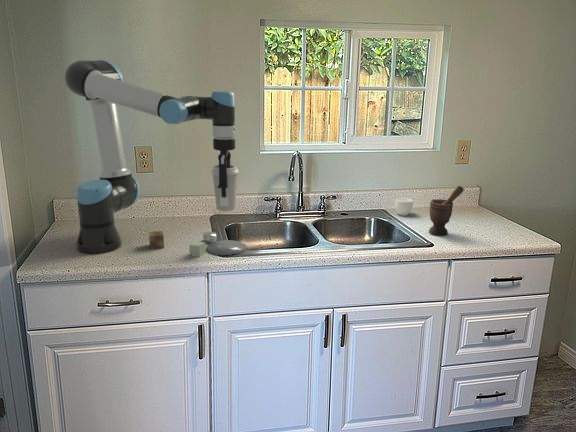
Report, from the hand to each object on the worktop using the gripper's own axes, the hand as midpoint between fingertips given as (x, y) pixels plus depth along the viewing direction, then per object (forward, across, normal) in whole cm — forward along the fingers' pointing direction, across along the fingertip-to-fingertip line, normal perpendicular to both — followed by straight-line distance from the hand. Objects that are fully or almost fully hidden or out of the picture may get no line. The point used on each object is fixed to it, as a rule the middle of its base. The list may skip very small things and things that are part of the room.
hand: (225, 202), depth 187 cm
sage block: (+17, -6, +10) cm, 21 cm away
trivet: (+17, 0, 0) cm, 17 cm away
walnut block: (+17, +2, +26) cm, 31 cm away
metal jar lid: (+17, +8, +7) cm, 20 cm away
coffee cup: (+2, 0, 0) cm, 2 cm away
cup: (+18, +48, -74) cm, 90 cm away
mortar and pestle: (+18, +20, -84) cm, 88 cm away
